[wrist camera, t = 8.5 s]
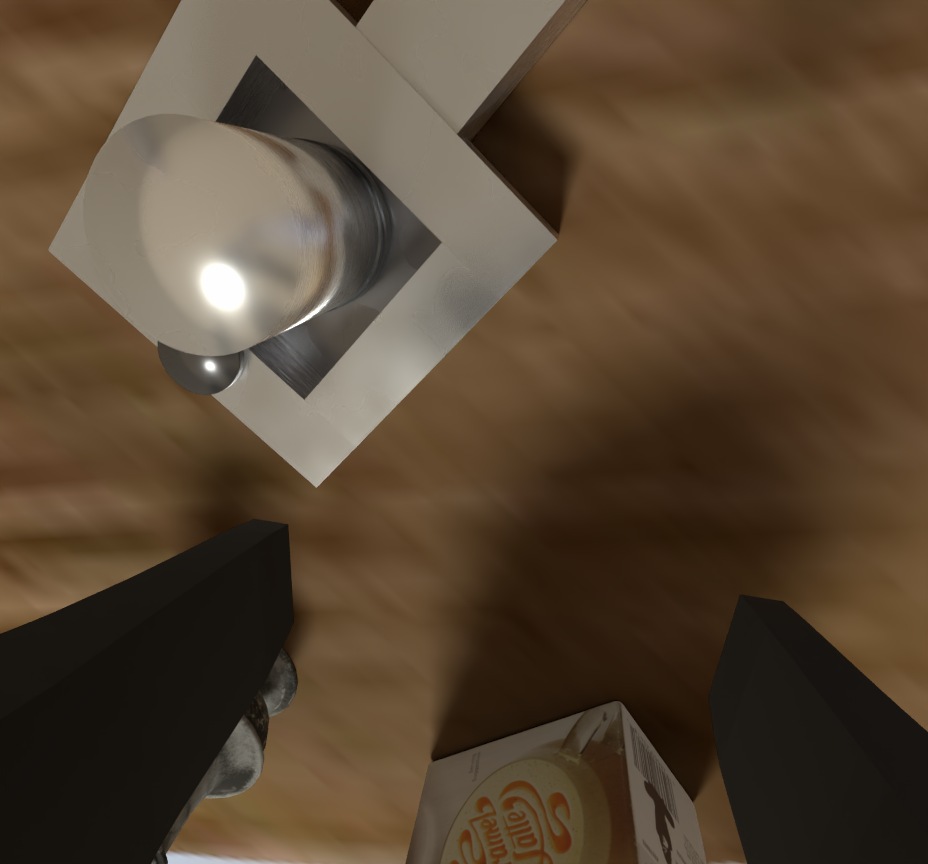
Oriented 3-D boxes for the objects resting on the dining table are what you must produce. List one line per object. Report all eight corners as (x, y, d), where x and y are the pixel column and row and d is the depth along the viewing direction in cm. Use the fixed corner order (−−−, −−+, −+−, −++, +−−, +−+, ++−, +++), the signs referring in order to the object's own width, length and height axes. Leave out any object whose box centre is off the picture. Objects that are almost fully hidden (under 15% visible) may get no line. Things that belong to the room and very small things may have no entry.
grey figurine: (168, 599, 24) (-182, 948, 13) (305, 630, 23) (61, 1026, 12) (179, 703, 26) (-110, 1076, 15) (303, 734, 25) (97, 1147, 14)
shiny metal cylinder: (411, 176, 16) (324, 165, 10) (366, 330, 17) (272, 391, 12) (258, 115, 16) (89, 71, 10) (229, 275, 17) (73, 309, 12)
